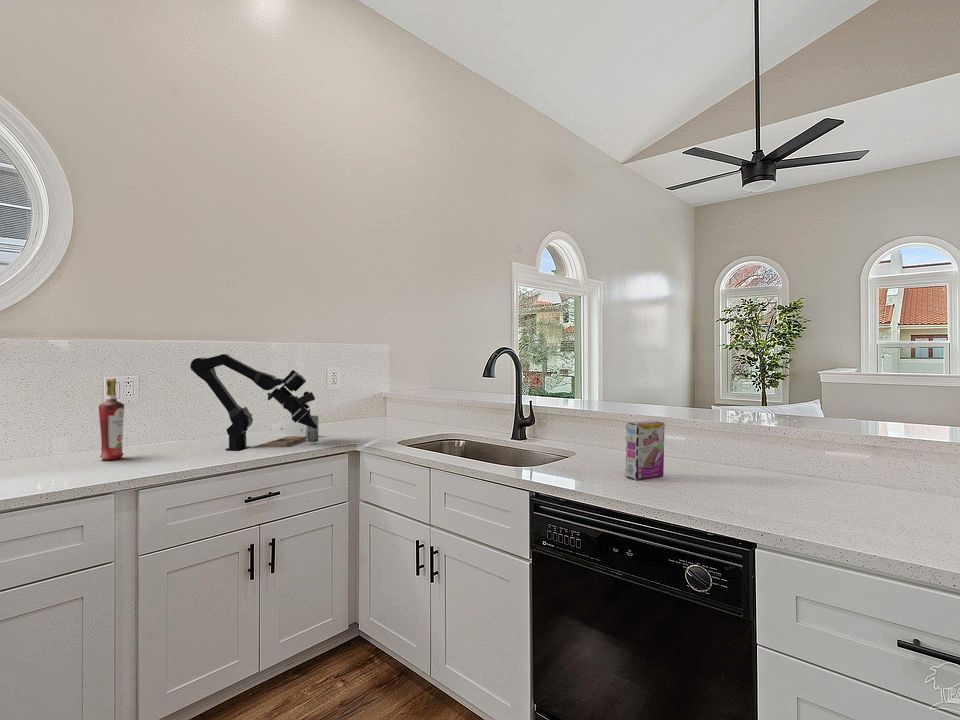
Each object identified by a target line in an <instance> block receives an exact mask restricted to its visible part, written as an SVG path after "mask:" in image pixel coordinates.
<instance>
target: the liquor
mask: <svg viewBox="0 0 960 720" xmlns="http://www.w3.org/2000/svg"><path fill="white" fill-rule="evenodd" d="M116 386H117V379H116V378H108V379H106V388H107V390H106V400H105V401H104V402H102V403H100V404H99V405H98V414H99V415H98V418H99V419H98V420H99V431H100V445H101V446H100V448H101V451H100V452H101V454H100V456H99V457H100V458H101V459H103V460H104V461H116V459H117V460H119V459H121V458H122V457H123V456H124V455H125V454H124V453H123V438H124V419H125V417H124V416H125V404H124V403H122V402H120V401H117V400H118V399H117V394H116V393H117V392H116Z"/></svg>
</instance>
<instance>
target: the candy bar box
mask: <svg viewBox="0 0 960 720" xmlns="http://www.w3.org/2000/svg"><path fill="white" fill-rule="evenodd" d="M625 439H626V441H625V442H626V443H625V478H627V479H631V480H634V481H642V480H647V479H648V480H649V479H654V478H661V477H662V478H663V477H664V469H665V461H664V459H665V422H662V421H657V420H648V421H632V422H631V421H630V422H626V436H625Z"/></svg>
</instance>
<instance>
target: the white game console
mask: <svg viewBox="0 0 960 720" xmlns="http://www.w3.org/2000/svg"><path fill="white" fill-rule="evenodd" d="M298 421H299V420H298ZM298 421H297V422H296V423H295V422H294V421H293V420H292V418H287V419H283V420H280V421H278V425H277V427H276V429H275V433H274V434H273V435H272V438H271V439H280V438H284V437H287V436H303V437H306V440H308V426H307V425H304V424H301V423H298Z"/></svg>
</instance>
